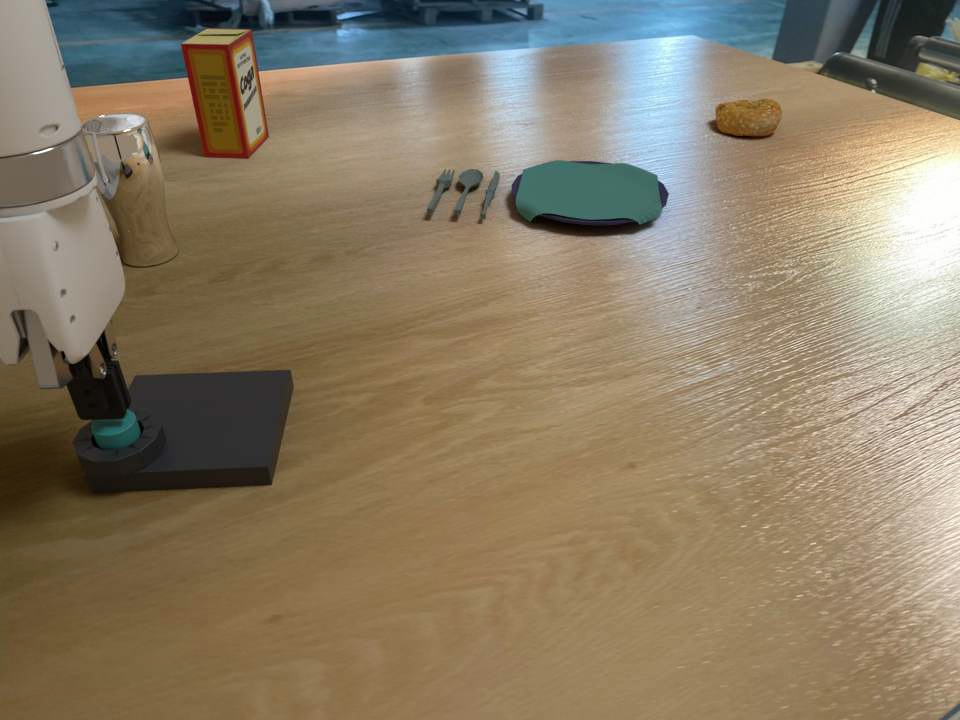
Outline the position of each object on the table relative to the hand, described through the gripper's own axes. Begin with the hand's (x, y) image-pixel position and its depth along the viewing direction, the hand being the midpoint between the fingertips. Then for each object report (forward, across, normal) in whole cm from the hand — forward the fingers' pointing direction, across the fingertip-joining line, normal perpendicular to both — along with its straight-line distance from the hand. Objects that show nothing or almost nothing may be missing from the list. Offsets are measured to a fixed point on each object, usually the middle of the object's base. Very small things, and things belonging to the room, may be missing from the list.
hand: (106, 411), depth 55 cm
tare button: (+2, 0, 0) cm, 2 cm away
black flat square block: (+5, -3, +5) cm, 8 cm away
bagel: (+5, -73, +74) cm, 104 cm away
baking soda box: (+6, -70, -5) cm, 71 cm away
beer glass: (+6, -35, -8) cm, 37 cm away
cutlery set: (+5, -47, +39) cm, 61 cm away
